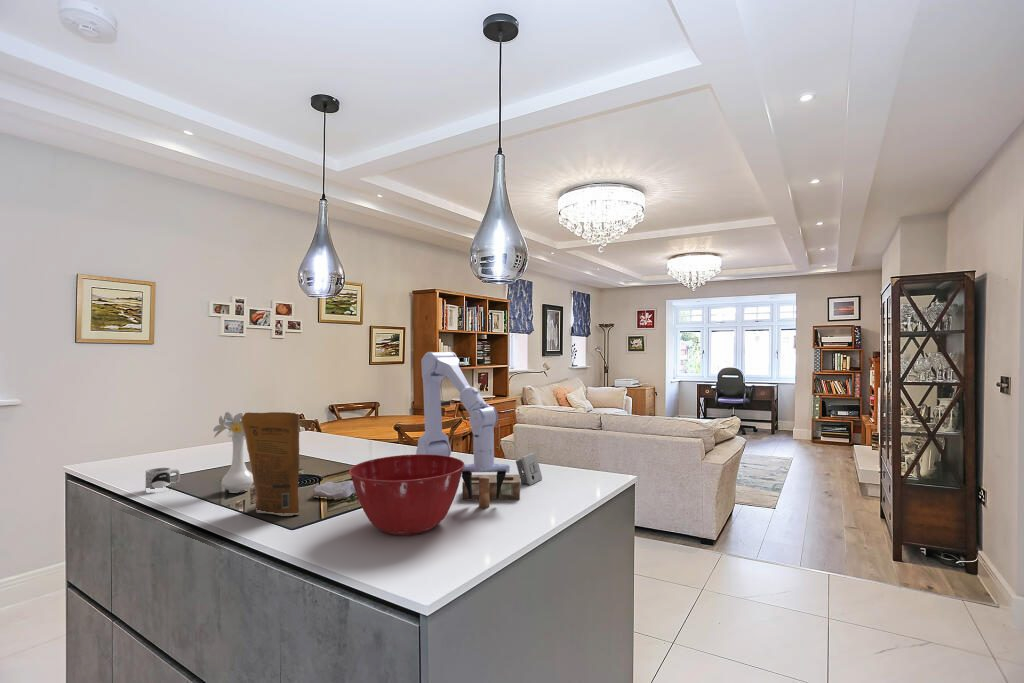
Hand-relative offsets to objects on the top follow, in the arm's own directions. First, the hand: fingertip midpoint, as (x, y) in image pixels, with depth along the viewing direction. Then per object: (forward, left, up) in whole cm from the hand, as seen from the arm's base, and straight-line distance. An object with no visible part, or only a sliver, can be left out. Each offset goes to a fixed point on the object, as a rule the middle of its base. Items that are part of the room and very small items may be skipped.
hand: (484, 497), depth 151 cm
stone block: (-47, +11, -3) cm, 48 cm away
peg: (0, 0, -2) cm, 2 cm away
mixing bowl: (-18, -17, -3) cm, 25 cm away
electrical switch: (+13, +28, -3) cm, 31 cm away
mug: (-106, +20, -3) cm, 108 cm away
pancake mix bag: (-57, -6, -3) cm, 58 cm away
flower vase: (-79, +17, -3) cm, 81 cm away
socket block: (+1, +12, -2) cm, 12 cm away
